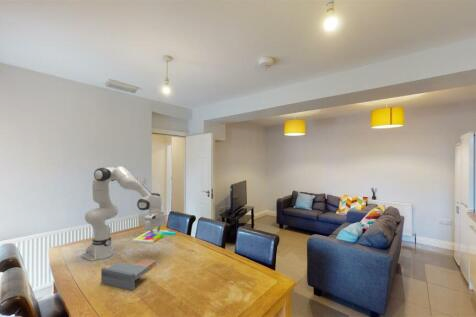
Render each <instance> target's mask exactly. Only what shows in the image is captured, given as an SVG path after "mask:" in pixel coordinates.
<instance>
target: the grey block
mask: <svg viewBox="0 0 476 317" xmlns="http://www.w3.org/2000/svg"><path fill="white" fill-rule="evenodd" d="M100 271H101V274H100V276H101V278H100V279H101V280H100V282H101V285H102V284H103V285H107V286H110V287H116V288H120V289H124V290H129V291H134V290H135V287H136V286H135V285H136V282H135V281H136V280H137V279H139V278H140V277H141V276H143V275H144V274H146V273H147V272H148V271H149V270H148V267H145V266H139V265H136V264H133V263H128V262H123V261H118V262H116V263H114V264H112V265H110V266H109V267H102V268H101V270H100Z"/></svg>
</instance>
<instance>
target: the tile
mask: <svg viewBox="0 0 476 317" xmlns="http://www.w3.org/2000/svg"><path fill="white" fill-rule="evenodd" d="M135 265H139V266H145V267H148V271H149V270H151V269H152V268H154V267H155V266H157V259H149V258H143V259H142V260H140V261H139V262H137V263H135Z"/></svg>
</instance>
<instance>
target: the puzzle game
mask: <svg viewBox="0 0 476 317" xmlns="http://www.w3.org/2000/svg"><path fill="white" fill-rule="evenodd" d="M153 231H154V234H151V232H150V230H149V231H148V230H147V231H146V232H144V233H143V234H140V235H139V236H136V237H135V238H132V239H131V243H133V244H142V245H143V244H144V245H153V244H155V243H157V242H159V241H160V240H161V239H162V238H164V236H173V237H174V236H177V234H176V233H177V232H176V231H170V230H161V229H160V231H157V229H153Z"/></svg>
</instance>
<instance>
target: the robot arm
mask: <svg viewBox="0 0 476 317" xmlns="http://www.w3.org/2000/svg"><path fill="white" fill-rule="evenodd" d="M93 177H94V178H93V180H92V200H93V202H94V203H96V204H98V206H99V207H96V208H94V209H93V208H92V209H91V210H89V211H86V213H85V215H84V220H85V222H86V223H88V224H89V225H91V227H92V229H93V239H91V242H92V243H91V244H90V245H89V246H87V248H86V249H85V253H84V254H82V255H81V257H82V258H83V259H86V260H88V261H90V262H93V261H97V260H104V259H106V258H109V257H111V256H113V255H114V253H113V252H114V249H113V246H112V245H113V243H112V236H111V227H110V226H109V225H107V224H106V221H107V220H110V219H113V218H114V217H116V216H117V215H118V213H119V209H118V207H117V206H116V205H115V204H113V202H112V201H111V198H110V188H109V183H110V182H114V181H116V182H117V184H118V185H119V186H120V187H121V188H122V189H125V190H130V191H135V192H137V193H138V194H140V196H142V198H139V199H138V200H137V202H136V206H137V208H138V210H140V211H146V210H148V211H149V212H148V213H147V214H146V215H145V216H144V218H143V219H144V221H143V222H144V223H143V225H144V227H143V228H144V230H145V231H147V232H148V231H149V230H150V232H151V234H154V231H153V230H154V229H155V228H156V230H157V231H160V230H161V228H162V225H165V224H166V222H167V221H166V215H165V212H163V210H162V206H163V205H162V203H163V202H162V195H161V194H160V193H157V192H150V191H149V189H148V188H147V187H145V185H143V183H141V182H140V181H139V180H137V179H136V178H135V176H133V175H132V173H131V172H130V171H128V169H127V168H125V167H124V166H120V165H119V166H107V167H100V168H96V169H95V170H94V172H93Z"/></svg>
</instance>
